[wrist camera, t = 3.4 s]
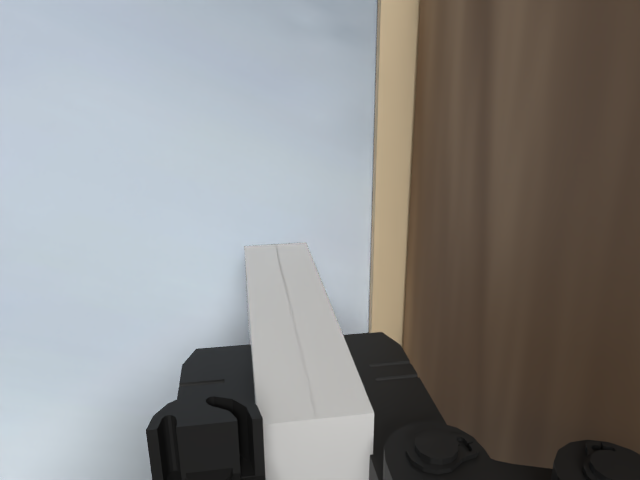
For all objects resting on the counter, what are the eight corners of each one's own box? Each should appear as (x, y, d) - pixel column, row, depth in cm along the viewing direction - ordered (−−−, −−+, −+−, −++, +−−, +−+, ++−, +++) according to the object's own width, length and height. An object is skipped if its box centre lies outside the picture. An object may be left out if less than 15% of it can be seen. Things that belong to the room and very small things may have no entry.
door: (398, 445, 17) (578, 866, 8) (422, -32, 13) (862, -217, 4) (470, 437, 18) (717, 833, 9) (518, -31, 13) (1125, -196, 4)
